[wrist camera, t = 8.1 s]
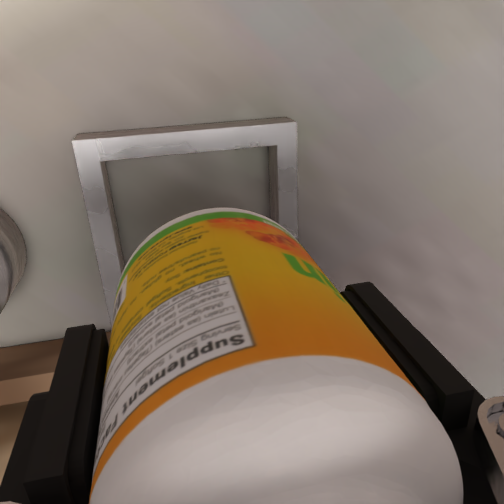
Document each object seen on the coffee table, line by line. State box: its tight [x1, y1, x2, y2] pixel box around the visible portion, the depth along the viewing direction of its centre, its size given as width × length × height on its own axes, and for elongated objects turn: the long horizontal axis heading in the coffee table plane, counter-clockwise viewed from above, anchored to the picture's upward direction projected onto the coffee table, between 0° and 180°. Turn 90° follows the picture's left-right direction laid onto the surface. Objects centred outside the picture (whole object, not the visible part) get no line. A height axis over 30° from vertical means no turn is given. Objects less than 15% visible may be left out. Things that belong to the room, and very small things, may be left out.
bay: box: [0, 331, 111, 485], centre depth 20 cm, size 17×12×6 cm
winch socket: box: [0, 117, 298, 326], centre depth 16 cm, size 16×8×5 cm, turn 93°
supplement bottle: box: [89, 208, 463, 504], centre depth 8 cm, size 5×5×10 cm
